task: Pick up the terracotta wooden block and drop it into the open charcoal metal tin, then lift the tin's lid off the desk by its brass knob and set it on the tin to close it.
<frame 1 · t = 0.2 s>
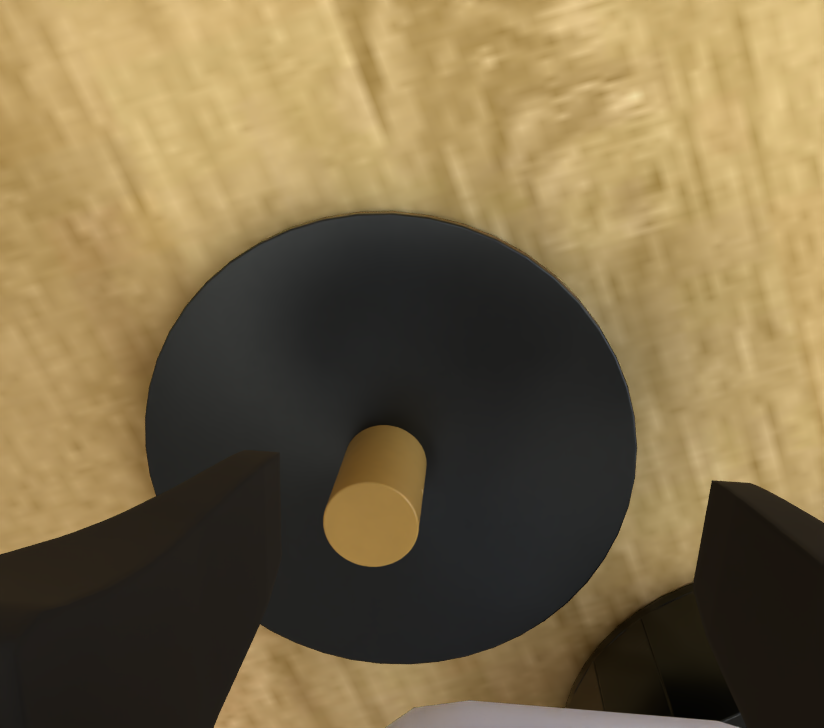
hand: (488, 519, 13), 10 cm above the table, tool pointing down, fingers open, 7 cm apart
tin lid: (387, 454, 23), point 1 cm above the table
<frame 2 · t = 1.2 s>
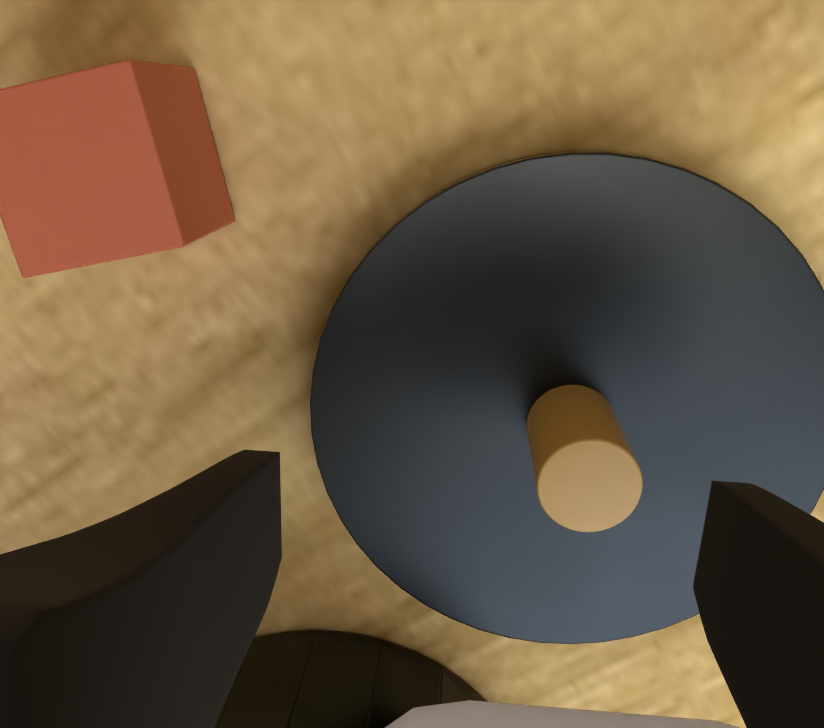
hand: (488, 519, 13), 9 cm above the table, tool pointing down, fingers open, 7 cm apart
tin lid: (568, 418, 21), point 1 cm above the table
block: (145, 161, 21), on the table
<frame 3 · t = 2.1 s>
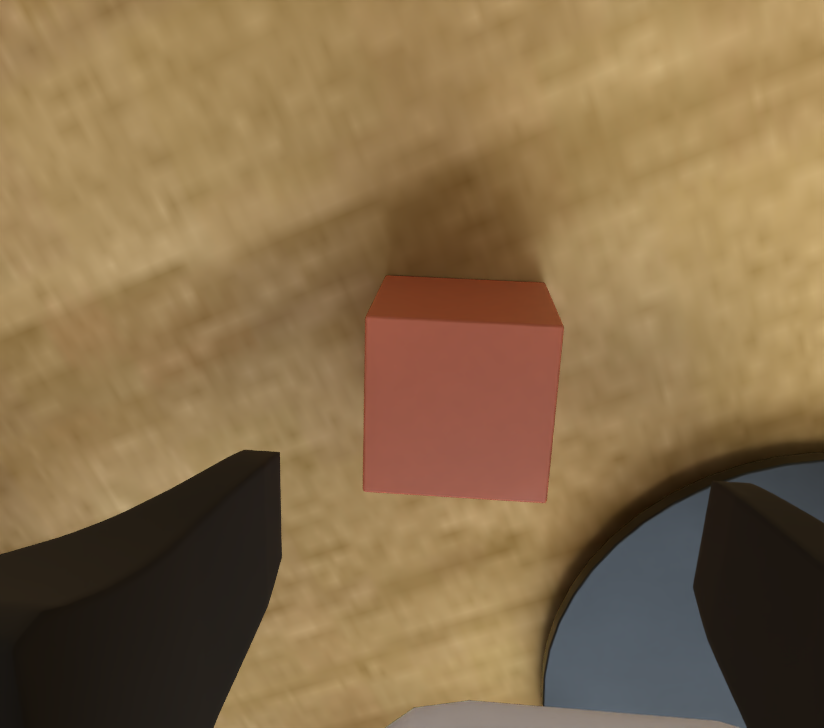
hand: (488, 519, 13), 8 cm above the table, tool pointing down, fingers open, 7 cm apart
tin lid: (800, 685, 22), point 1 cm above the table
block: (460, 354, 20), on the table
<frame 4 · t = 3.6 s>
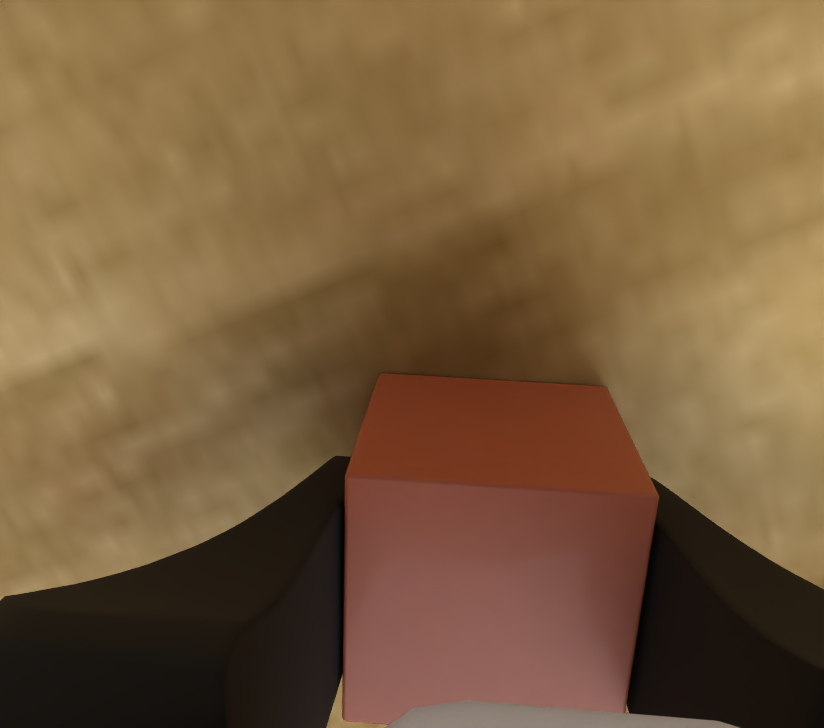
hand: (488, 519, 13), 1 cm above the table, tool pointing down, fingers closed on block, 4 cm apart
block: (484, 480, 14), on the table, touching gripper
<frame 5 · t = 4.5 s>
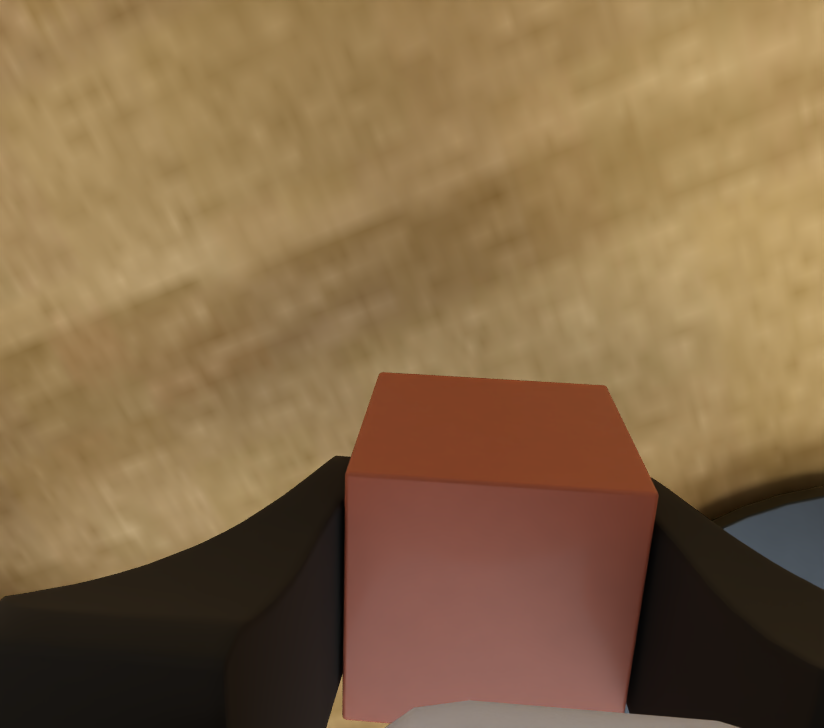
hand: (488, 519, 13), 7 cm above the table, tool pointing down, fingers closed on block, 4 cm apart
block: (484, 479, 14), point 5 cm above the table, touching gripper
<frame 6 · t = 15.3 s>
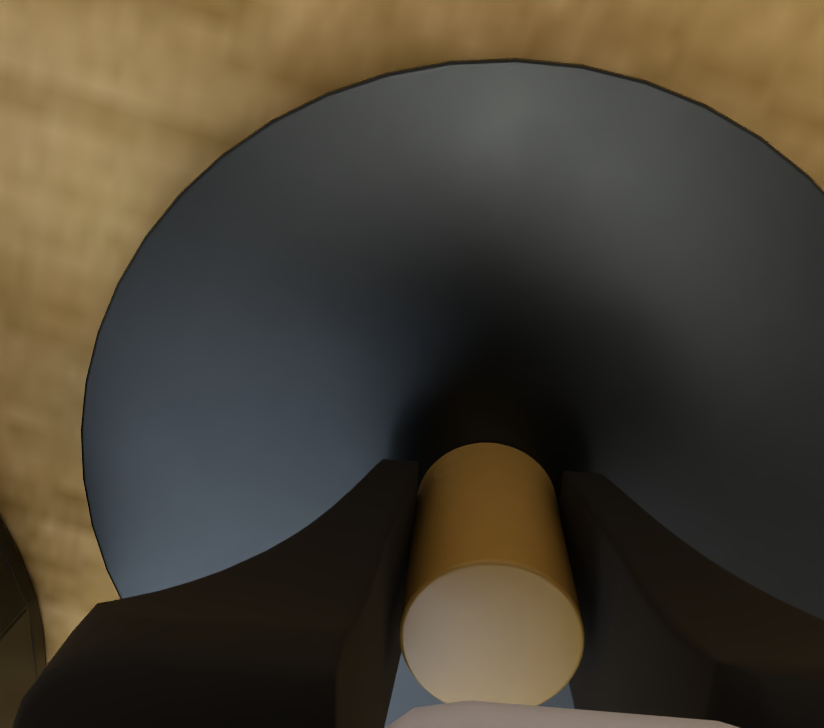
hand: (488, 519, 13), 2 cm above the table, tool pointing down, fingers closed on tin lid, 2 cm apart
tin lid: (485, 491, 14), point 1 cm above the table, touching gripper
when the fingers open (6 cm above the table, at t = 18.6 s): tin lid stays where it is, resting on tin.
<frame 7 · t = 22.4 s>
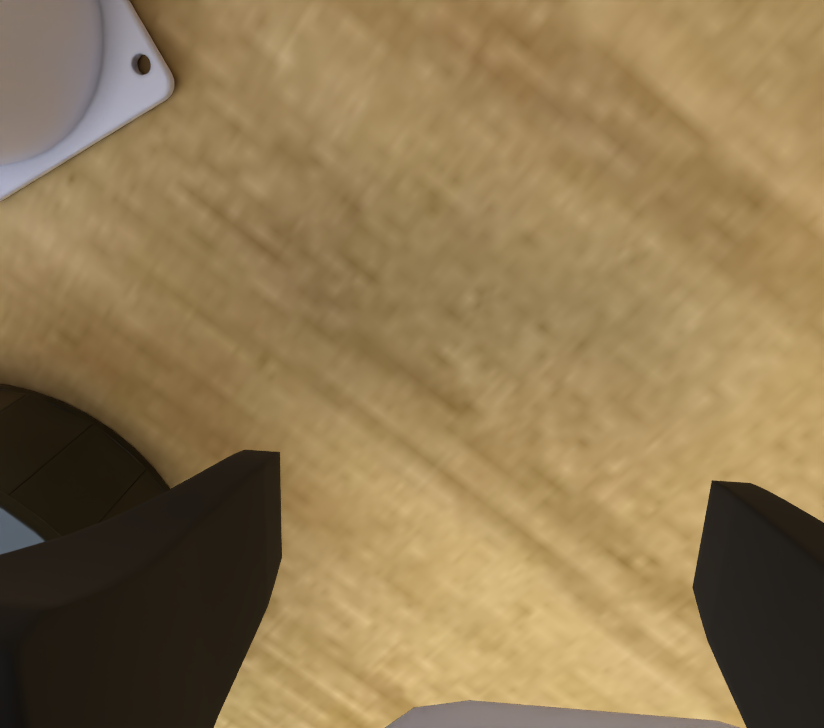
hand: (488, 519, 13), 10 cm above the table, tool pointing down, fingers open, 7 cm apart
tin: (9, 566, 26), on the table
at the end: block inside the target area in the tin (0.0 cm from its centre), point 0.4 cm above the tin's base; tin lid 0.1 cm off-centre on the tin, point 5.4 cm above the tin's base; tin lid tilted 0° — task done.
